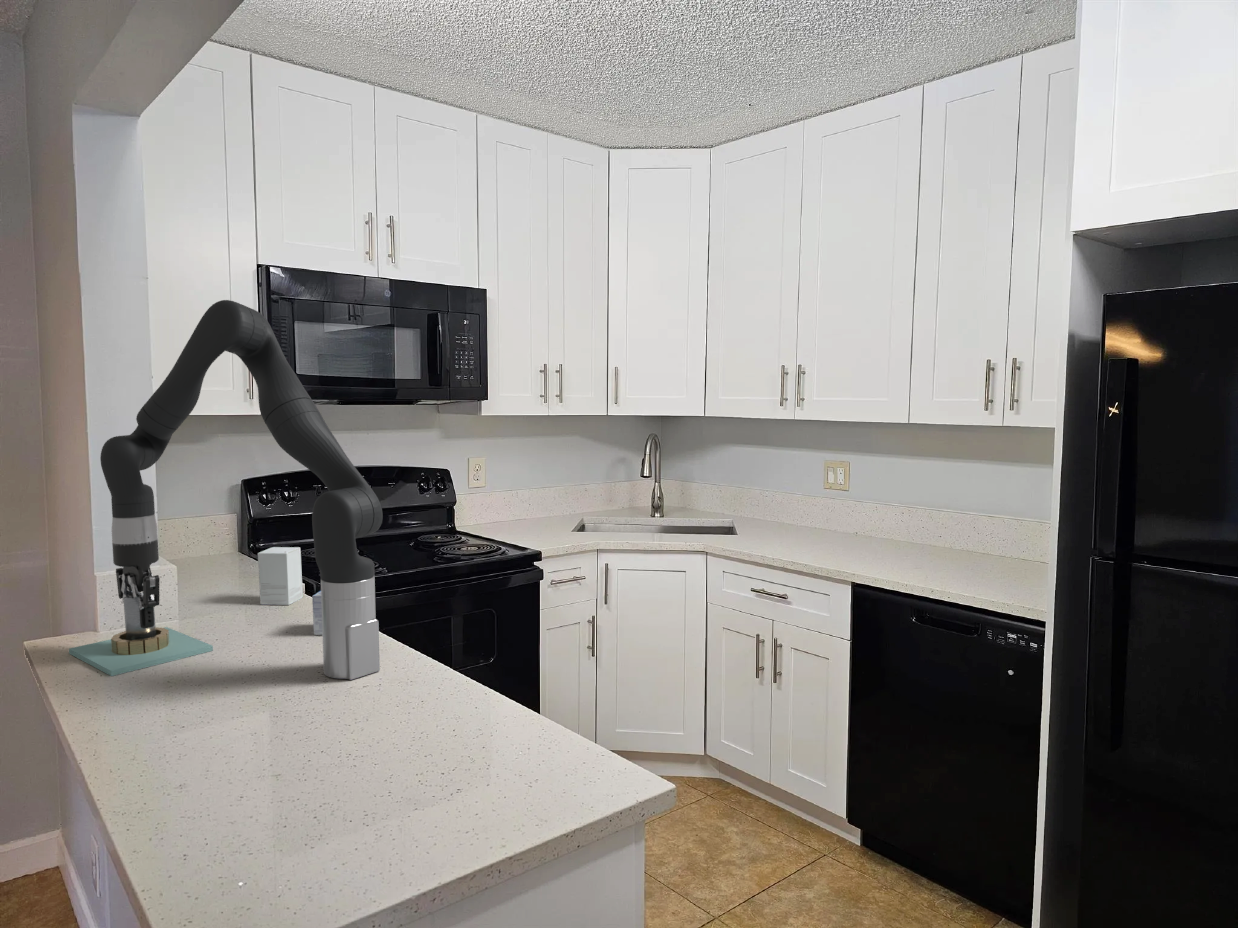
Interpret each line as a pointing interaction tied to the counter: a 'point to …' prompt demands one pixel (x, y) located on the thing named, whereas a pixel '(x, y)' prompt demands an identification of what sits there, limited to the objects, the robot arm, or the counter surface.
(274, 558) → the supplement box
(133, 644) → the ring collar
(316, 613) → the medicine box
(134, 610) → the cylinder
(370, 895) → the counter surface
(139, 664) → the ring mat
